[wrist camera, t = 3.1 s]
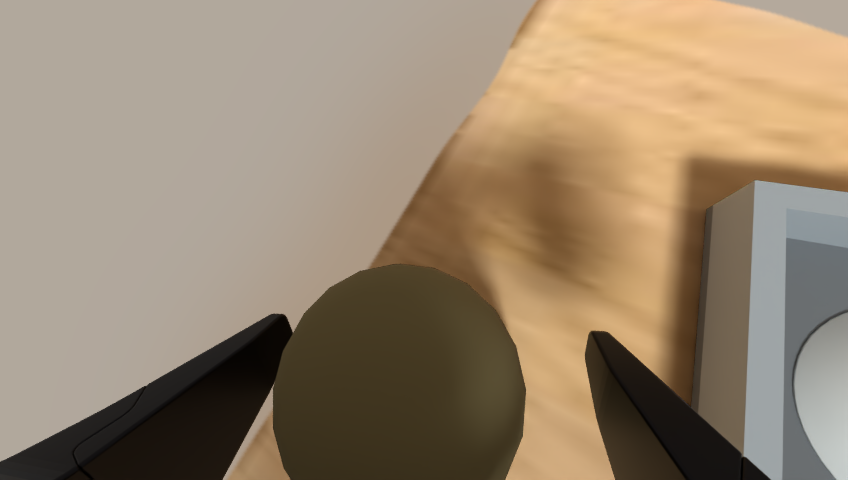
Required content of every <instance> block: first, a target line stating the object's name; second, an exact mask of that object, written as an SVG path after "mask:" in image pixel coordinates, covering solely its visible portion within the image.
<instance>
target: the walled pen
mask: <svg viewBox="0 0 848 480" xmlns="http://www.w3.org/2000/svg"><path fill="white" fill-rule="evenodd" d="M691 408H692V409H694V410H695V411H696V412H697V413H698V414H699V415H700V416H701V417H702V418H703V419H705V420H706V421H707V422H708V423H709V424H710V425H711V426H712V427H713V428H715V429H716V430H717V431H718V432H719V433H720V434H721V435H722V436H723V437H724V438H726V439H727V440H728V441H729V442H730V443H731V444H732V445H733V446H734V447H736V448H737V449H738V450H739V451H740V452H741V453H742V457H747V458H748V459H749V460H750V461H751V462H752V463H753V464H755V465H756V466H757V467H758V468H759V469H760V470H761V471H762V472H763V473H764V474H766V475H767V476H768V477H769V478H770V479H771V480H848V192H841V191H834V190H826V189H819V188H811V187H803V186H796V185H788V184H781V183H773V182H766V181H758V180H754V181H753V182H751V183H749V184H748V185H746V186H744V187H743V188H741V189H739V190H738V191H736V192H734V193H733V194H731V195H729V196H728V197H726V198H724V199H723V200H721V201H719V202H718V203H716V204H714V205H713V206H711V207H709V208H708V209H707V210H706V222H705V235H704V248H703V261H702V274H701V286H700V299H699V312H698V325H697V338H696V350H695V363H694V376H693V389H692V402H691Z"/></svg>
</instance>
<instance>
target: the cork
mask: <svg viewBox="0 0 848 480" xmlns="http://www.w3.org/2000/svg"><path fill="white" fill-rule="evenodd" d="M525 396H526V388H525V383H524V379H523V375H522V370H521V366H520V362H519V357H518V353H517V348H516V345H515V344H514V342H513V340H512V338H511V337H510V335H509V333H508V331H507V330H506V328H505V326H504V324H503V323H502V321H501V319H500V317H499V316H498V314H497V312H496V310H495V309H494V308H493V307H492V306H491V305H490V304H488V303H487V302H486V301H485V300H484V299H483V298H482V297H481V296H480V295H479V294H478V293H477V292H476V291H475V290H473V289H472V288H471V287H470V286H469V285H468V284H467V283H465V282H463V281H461V280H459V279H457V278H454V277H452V276H450V275H448V274H446V273H444V272H442V271H439V270H437V269H435V268H430V267H421V266H413V265H405V264H393V265H388V266H383V267H378V268H373V269H368V270H363V271H359V272H357V273H356V274H354V275H352V276H350V277H349V278H346V279H345V280H343V281H341V282H339V283H337V284H336V285H334V286H332V287H330V288H329V289H328V290H327V291H326V292H325V293H324V294H323V295H322V296H321V297H320V298H319V299H318V300H317V301H316V302H315V303H314V304H313V305H312V306H311V307H310V308H309V309H308V310H307V311H306V312H305V313H304V315H303V317H302V318H301V320H300V322H299V324H298V325H297V327H296V329H295V331H294V333H293V334H292V336H291V338H290V340H289V341H288V343H287V345H286V347H285V349H284V350H283V353H282V357H281V361H280V364H279V368H278V372H277V376H276V380H275V383H274V387H273V430H274V434H275V437H276V441H277V445H278V449H279V452H280V456H281V460H282V463H283V467H284V469H285V471H286V472H287V474H288V476H289V477H290V479H291V480H505V479H506V476H507V474H508V471H509V469H510V466H511V464H512V461H513V459H514V456H515V454H516V451H517V449H518V447H519V444H520V442H521V439H522V437H523V424H524V410H525Z"/></svg>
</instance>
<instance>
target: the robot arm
mask: <svg viewBox="0 0 848 480" xmlns="http://www.w3.org/2000/svg"><path fill="white" fill-rule="evenodd" d="M292 334H293V332H292V329H291V327H290V324H289V322H288V319H287V317H286V316H285V315H284V314H271V315H269V316H267V317H265V318H263V319H262V320H260V321H259V322H256V323H255V324H253V325H251V326H250V327H248V328H246V329H244V330H242V331H241V332H239V333H237V334H235V335H234V336H232V337H230V338H228V339H227V340H225V341H223V342H221V343H220V344H218V345H216V346H214V347H213V348H211V349H209V350H207V351H206V352H204V353H202V354H200V355H198V356H197V357H195V358H193V359H191V360H190V361H188V362H186V363H184V364H183V365H181V366H179V367H177V368H176V369H174V370H172V371H170V372H169V373H167V374H165V375H163V376H162V377H160V378H158V379H156V380H155V381H153V382H151V383H149V384H148V385H147V386H144V387H142V388H141V389H139V390H137V391H136V392H133V393H132V394H130V395H128V396H126V397H125V398H123V399H121V400H119V401H117V402H116V403H114V404H112V405H110V406H108V407H106V408H105V409H103V410H101V411H99V412H97V413H95V414H93V415H91V416H89V417H87V418H86V419H84V420H82V421H80V422H78V423H76V424H74V425H72V426H70V427H68V428H66V429H64V430H62V431H60V432H59V433H57V434H55V435H53V436H51V437H49V438H47V439H45V440H43V441H41V442H39V443H37V444H35V445H33V446H31V447H29V448H27V449H26V450H24V451H21V452H20V453H18V454H16V455H14V456H11V457H9V458H7V459H6V460H3V461H1V462H0V480H223V477H224V476H225V474H226V472H227V470H228V468H229V467H230V465H231V463H232V461H233V459H234V457H235V455H236V454H237V452H238V450H239V448H240V446H241V444H242V442H243V441H244V438H245V437H246V435H247V433H248V431H249V429H250V427H251V426H252V424H253V422H254V420H255V418H256V416H257V415H258V413H259V411H260V409H261V407H262V405H263V403H264V402H265V400H266V398H267V396H268V394H269V392H270V390H271V388H272V386H273V384H274V382H275V380H276V376H277V372H278V368H279V364H280V361H281V357H282V353H283V350H284V349H285V347H286V345H287V343H288V341H289V340H290V338H291V336H292ZM585 362H586V367H587V372H588V378H589V383H590V388H591V393H592V398H593V403H594V409H595V413H596V418H597V422H598V426H599V429H600V432H601V436H602V439H603V442H604V445H605V448H606V452H607V455H608V458H609V461H610V464H611V468H612V471H613V474H614V477H615V480H771V479H770V478H769V477H768V476H767V475H766V474H764V473H763V472H762V471H761V470H760V469H759V468H758V467H757V466H756V465H755V464H753V463H752V462H751V461H750V460H749V459H748V458H747V457H742V453H741V452H740V451H739V450H738V449H737V448H736V447H734V446H733V445H732V444H731V443H730V442H729V441H728V440H727V439H726V438H724V437H723V436H722V435H721V434H720V433H719V432H718V431H717V430H716V429H715V428H713V427H712V426H711V425H710V424H709V423H708V422H707V421H706V420H705V419H703V418H702V417H701V416H700V415H699V414H698V413H697V412H696V411H695V410H694V409H692V408H691V407H690V406H689V405H688V404H687V403H686V402H685V401H684V400H683V399H681V398H680V397H679V396H678V395H677V394H676V393H675V392H674V391H673V390H671V389H670V388H669V387H668V386H667V385H666V384H665V383H664V382H663V381H662V380H660V379H659V378H658V377H657V376H656V375H655V374H654V373H653V372H652V371H650V370H649V369H648V368H647V367H646V366H645V365H644V364H643V363H642V362H641V361H639V360H638V359H637V358H636V357H635V356H634V355H633V354H632V353H631V352H629V351H628V350H627V349H626V348H625V347H624V346H623V345H622V344H621V343H620V342H618V341H617V340H616V339H615V338H614V337H613V336H612V335H611V334H610V333H608V332H605V331H591V332H590V333H589V335H588V340H587V346H586V351H585Z"/></svg>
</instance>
